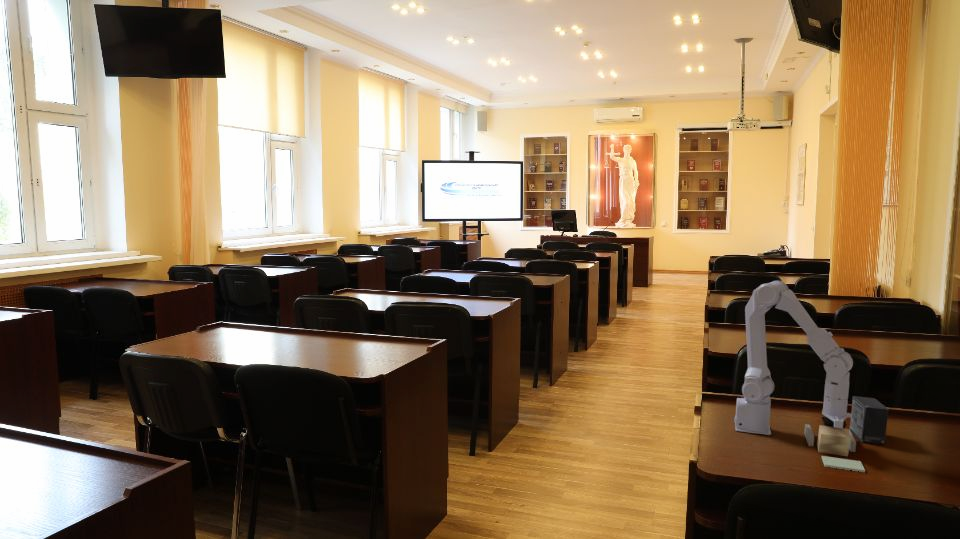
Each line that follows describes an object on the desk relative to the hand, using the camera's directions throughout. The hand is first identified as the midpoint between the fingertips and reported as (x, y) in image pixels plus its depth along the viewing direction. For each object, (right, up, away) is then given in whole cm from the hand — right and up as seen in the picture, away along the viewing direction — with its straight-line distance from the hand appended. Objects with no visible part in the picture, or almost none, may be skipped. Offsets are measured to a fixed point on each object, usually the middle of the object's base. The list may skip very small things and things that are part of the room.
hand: (831, 444), depth 181 cm
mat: (-3, -2, -11) cm, 12 cm away
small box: (+15, 0, +9) cm, 17 cm away
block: (-1, -1, -2) cm, 3 cm away
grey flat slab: (+2, -1, +4) cm, 5 cm away
